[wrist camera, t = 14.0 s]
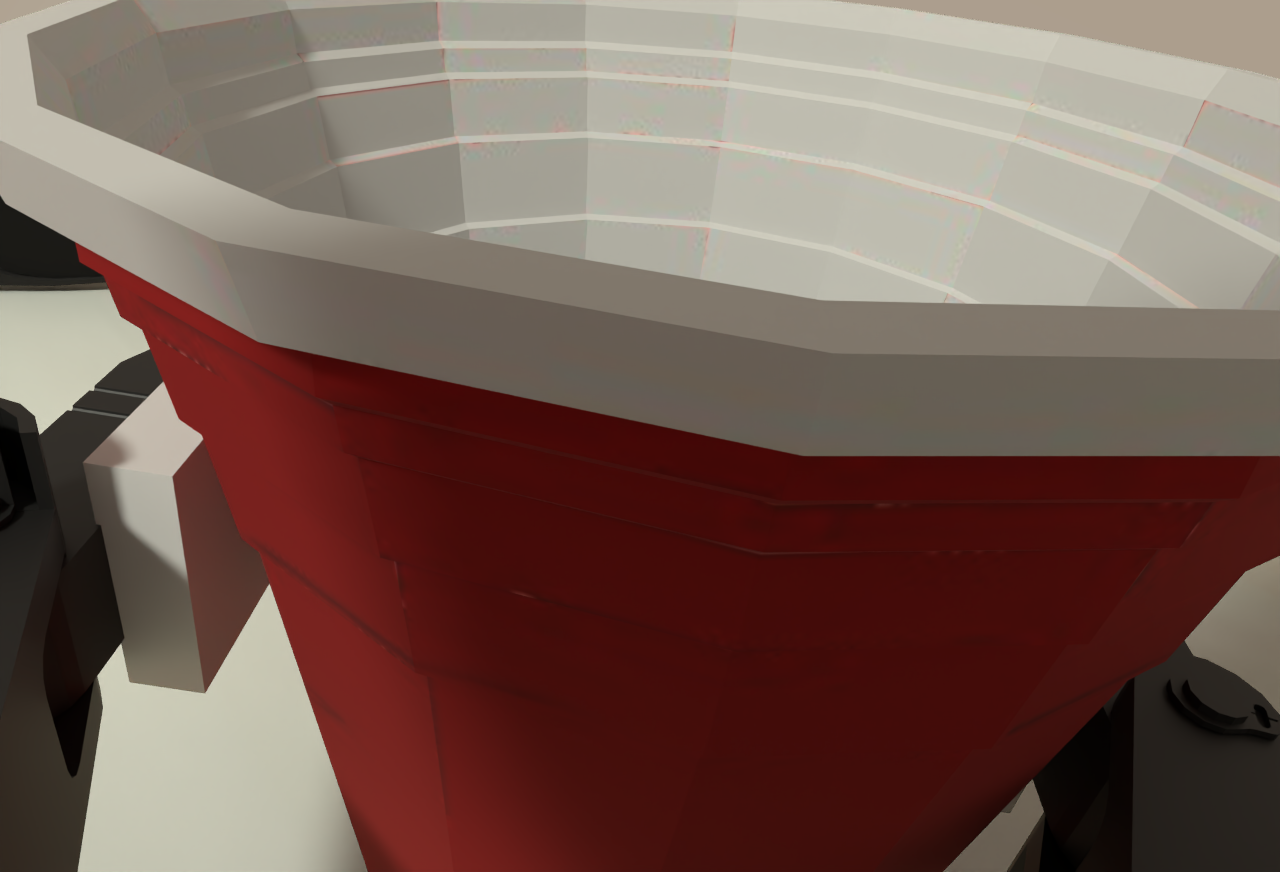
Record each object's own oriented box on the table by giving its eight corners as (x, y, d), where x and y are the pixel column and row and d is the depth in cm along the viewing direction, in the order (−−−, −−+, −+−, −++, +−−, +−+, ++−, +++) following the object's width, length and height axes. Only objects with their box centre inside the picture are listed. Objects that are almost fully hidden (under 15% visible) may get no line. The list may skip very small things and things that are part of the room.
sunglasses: (387, 136, 44) (378, 23, 42) (501, 242, 34) (501, 101, 31) (-33, 163, 37) (-76, 28, 34) (-48, 310, 27) (-111, 133, 24)
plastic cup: (487, 543, 20) (539, -109, 13) (1002, 784, 16) (1410, 76, 10) (-32, 1023, 11) (-618, -165, 5) (830, 1723, 8) (2986, 1057, 1)
